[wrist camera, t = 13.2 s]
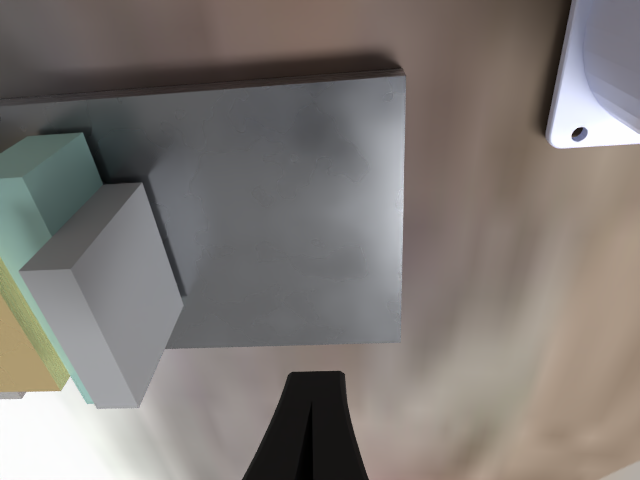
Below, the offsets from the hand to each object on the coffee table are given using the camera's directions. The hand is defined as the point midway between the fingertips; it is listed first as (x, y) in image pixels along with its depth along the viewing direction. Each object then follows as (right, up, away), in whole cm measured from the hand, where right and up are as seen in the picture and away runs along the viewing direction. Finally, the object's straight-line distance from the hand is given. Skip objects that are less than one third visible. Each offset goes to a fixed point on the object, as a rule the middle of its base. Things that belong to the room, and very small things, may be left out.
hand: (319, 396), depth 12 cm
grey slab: (-7, +4, +8) cm, 11 cm away
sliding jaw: (-8, +4, +7) cm, 11 cm away
